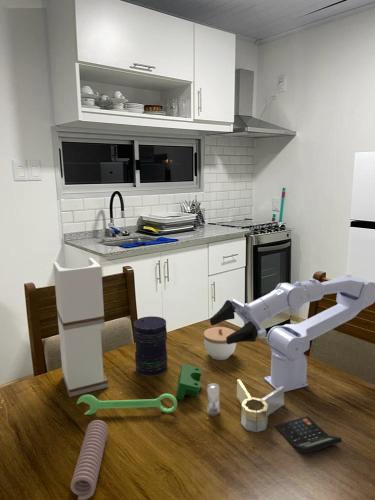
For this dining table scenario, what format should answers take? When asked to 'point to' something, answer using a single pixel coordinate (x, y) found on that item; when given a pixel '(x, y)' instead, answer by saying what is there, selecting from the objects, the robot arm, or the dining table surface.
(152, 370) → the storage jar
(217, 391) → the hinge pin
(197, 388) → the clamp
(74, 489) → the coil
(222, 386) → the dining table surface
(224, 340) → the lidded jar
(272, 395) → the tan ring with arms
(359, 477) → the dining table surface
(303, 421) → the calculator
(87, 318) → the grey boxy piece
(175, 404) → the wrench
